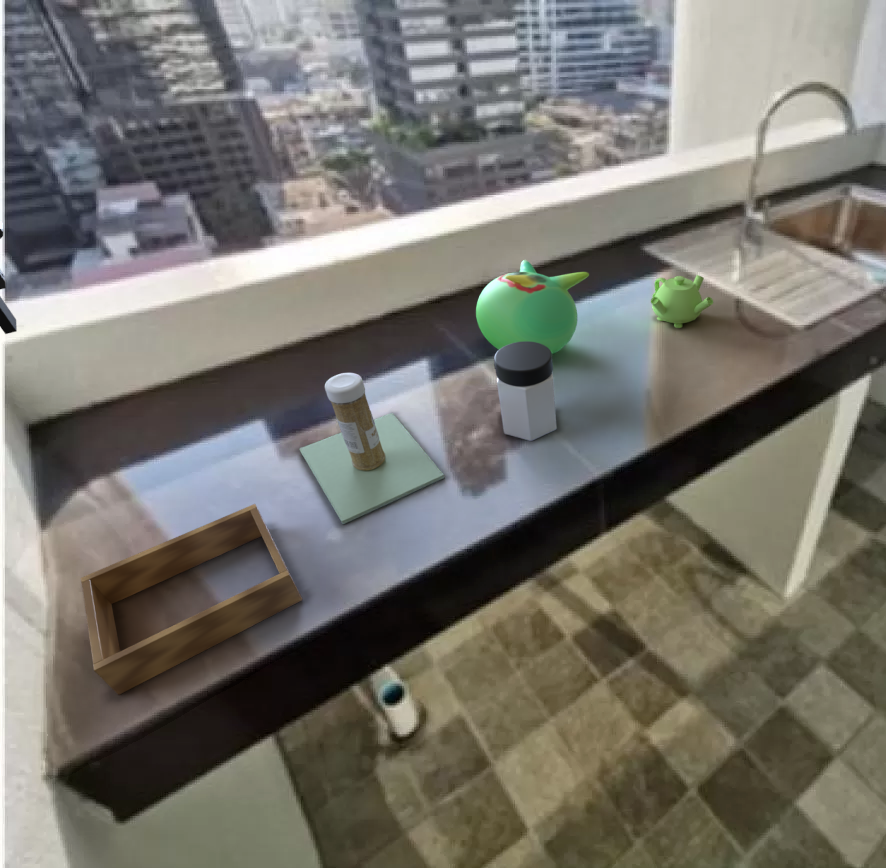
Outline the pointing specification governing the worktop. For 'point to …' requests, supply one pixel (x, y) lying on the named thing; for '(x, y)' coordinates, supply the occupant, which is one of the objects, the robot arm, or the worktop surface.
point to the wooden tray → (195, 631)
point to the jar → (526, 389)
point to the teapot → (679, 300)
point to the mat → (374, 487)
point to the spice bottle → (355, 420)
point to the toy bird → (529, 308)
